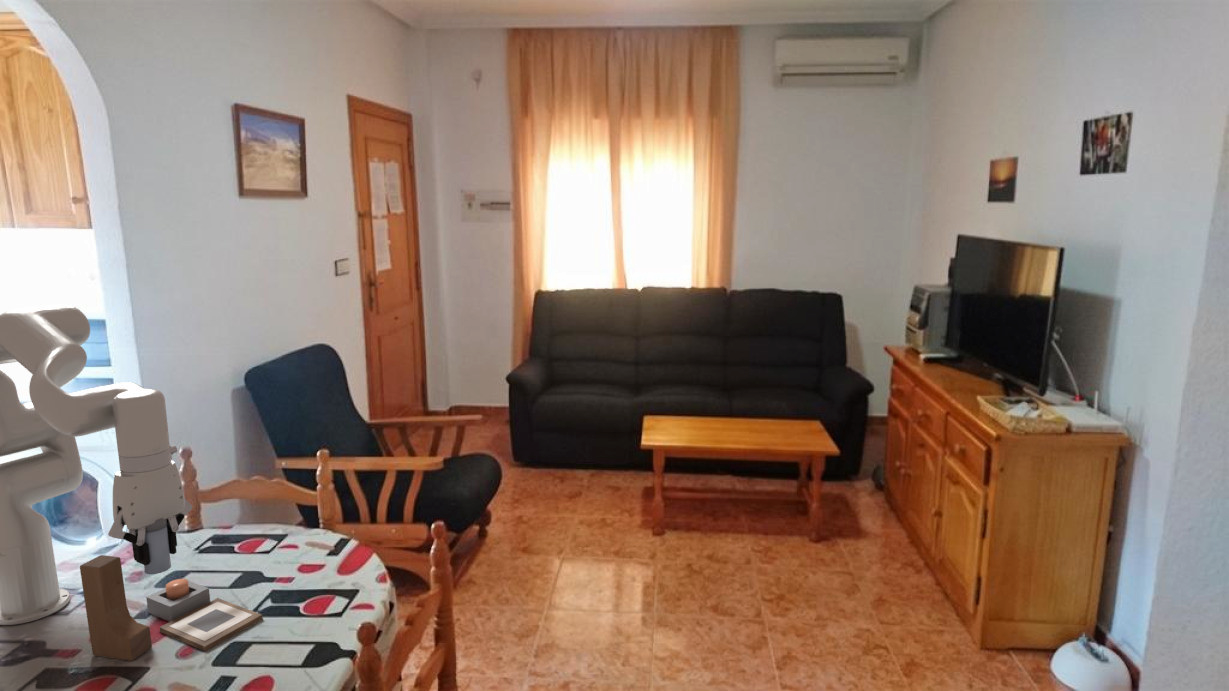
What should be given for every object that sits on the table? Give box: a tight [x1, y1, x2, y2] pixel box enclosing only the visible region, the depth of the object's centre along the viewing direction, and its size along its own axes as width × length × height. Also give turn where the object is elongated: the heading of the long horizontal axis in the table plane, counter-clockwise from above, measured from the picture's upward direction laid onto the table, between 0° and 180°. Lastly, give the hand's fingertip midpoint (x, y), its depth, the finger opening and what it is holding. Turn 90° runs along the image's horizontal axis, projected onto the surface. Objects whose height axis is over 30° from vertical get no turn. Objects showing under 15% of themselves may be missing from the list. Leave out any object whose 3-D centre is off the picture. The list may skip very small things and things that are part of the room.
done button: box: [164, 578, 189, 600], centre depth 145 cm, size 4×4×2 cm
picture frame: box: [159, 597, 264, 652], centre depth 139 cm, size 14×12×1 cm
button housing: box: [146, 580, 211, 623], centre depth 145 cm, size 8×8×4 cm
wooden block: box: [79, 554, 153, 662], centre depth 129 cm, size 9×4×18 cm, turn 78°
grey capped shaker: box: [143, 518, 172, 575], centre depth 126 cm, size 4×4×10 cm
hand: (156, 556), depth 126 cm, fingers closed on grey capped shaker, 4 cm apart
